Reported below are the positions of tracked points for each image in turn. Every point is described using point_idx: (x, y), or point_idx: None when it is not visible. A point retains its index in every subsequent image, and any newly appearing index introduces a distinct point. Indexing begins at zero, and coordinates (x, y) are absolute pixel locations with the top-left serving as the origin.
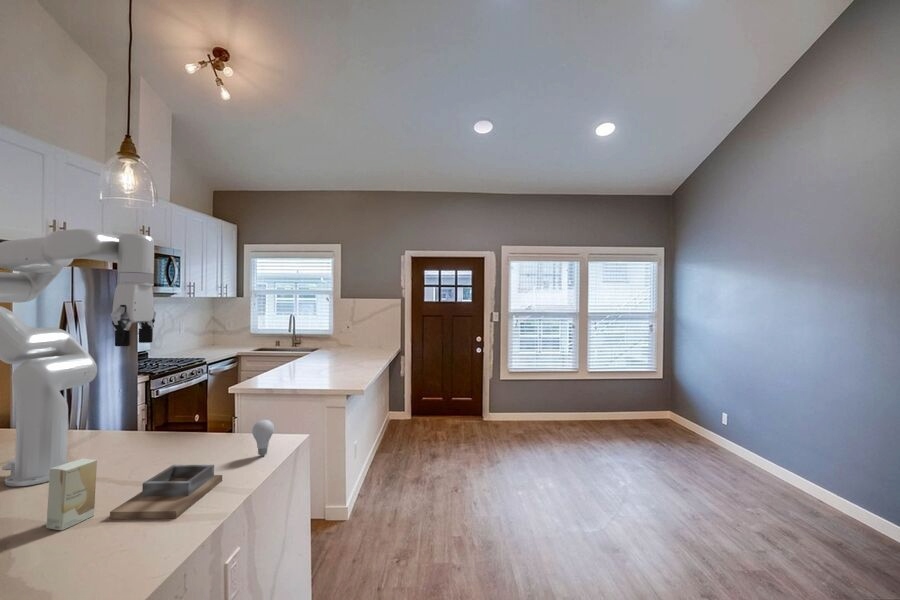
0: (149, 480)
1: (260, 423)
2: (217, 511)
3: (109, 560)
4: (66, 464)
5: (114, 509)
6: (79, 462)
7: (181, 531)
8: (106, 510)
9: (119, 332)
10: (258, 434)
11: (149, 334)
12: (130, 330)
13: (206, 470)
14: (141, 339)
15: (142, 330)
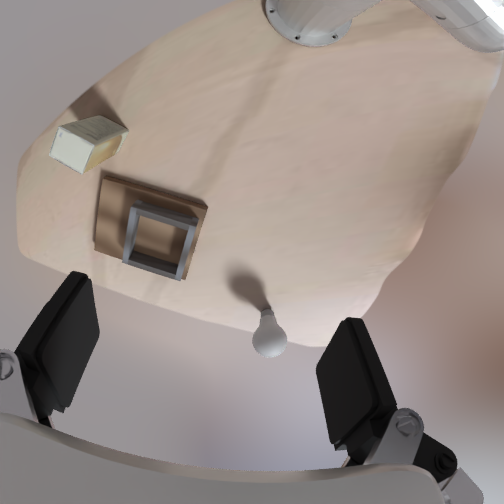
0: (139, 212)
1: (261, 348)
2: (107, 279)
3: (42, 213)
4: (68, 140)
5: (107, 181)
6: (73, 154)
7: (75, 256)
8: (129, 160)
9: (22, 360)
10: (254, 334)
11: (326, 407)
12: (60, 411)
13: (161, 274)
14: (339, 347)
15: (354, 409)
